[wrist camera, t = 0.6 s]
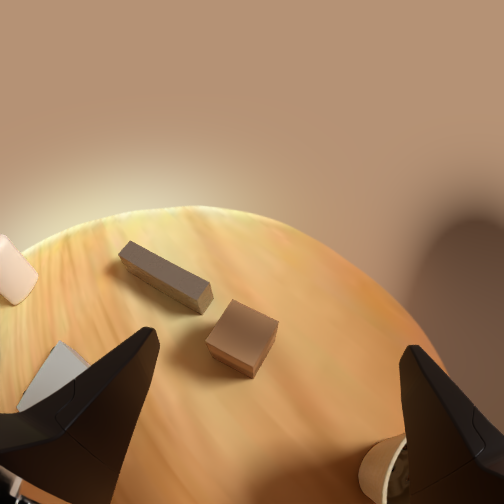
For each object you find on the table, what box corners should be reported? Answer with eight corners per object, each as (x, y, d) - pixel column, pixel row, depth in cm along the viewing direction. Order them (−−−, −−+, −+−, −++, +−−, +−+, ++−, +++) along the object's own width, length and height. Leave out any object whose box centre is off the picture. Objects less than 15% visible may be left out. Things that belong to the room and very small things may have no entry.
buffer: (202, 315, 26) (196, 300, 24) (127, 270, 29) (118, 254, 27) (213, 298, 27) (209, 282, 25) (139, 257, 30) (130, 240, 28)
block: (253, 379, 23) (253, 367, 19) (212, 357, 24) (204, 340, 20) (274, 340, 25) (278, 321, 21) (235, 321, 26) (232, 299, 22)
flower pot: (436, 416, 19) (497, 398, 12) (426, 505, 13) (484, 515, 6) (347, 421, 20) (391, 410, 13) (331, 518, 14) (367, 550, 7)
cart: (92, 474, 16) (75, 476, 14) (29, 407, 19) (12, 401, 16) (138, 405, 21) (125, 400, 18) (70, 345, 23) (54, 334, 21)
